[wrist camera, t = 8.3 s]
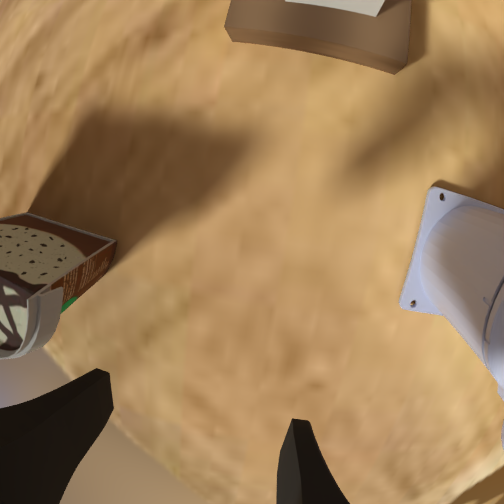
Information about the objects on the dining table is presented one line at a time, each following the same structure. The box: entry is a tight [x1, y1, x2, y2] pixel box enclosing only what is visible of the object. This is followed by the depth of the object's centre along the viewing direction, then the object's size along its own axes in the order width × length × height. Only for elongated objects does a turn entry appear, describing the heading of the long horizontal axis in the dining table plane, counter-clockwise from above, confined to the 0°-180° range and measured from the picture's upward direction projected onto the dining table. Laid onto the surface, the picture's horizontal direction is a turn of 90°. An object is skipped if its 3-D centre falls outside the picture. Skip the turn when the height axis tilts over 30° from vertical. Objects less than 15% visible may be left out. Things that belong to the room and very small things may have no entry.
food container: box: [0, 212, 117, 359], centre depth 17 cm, size 12×6×10 cm, turn 77°
